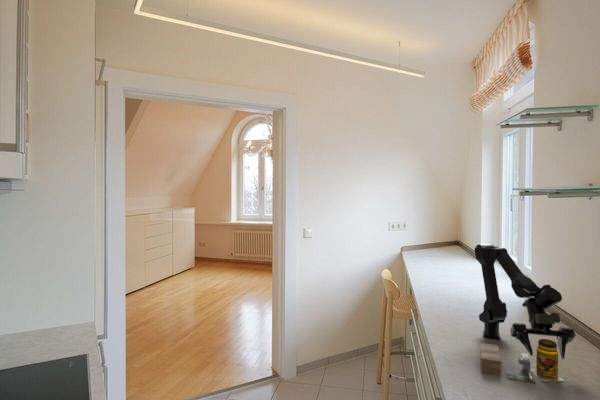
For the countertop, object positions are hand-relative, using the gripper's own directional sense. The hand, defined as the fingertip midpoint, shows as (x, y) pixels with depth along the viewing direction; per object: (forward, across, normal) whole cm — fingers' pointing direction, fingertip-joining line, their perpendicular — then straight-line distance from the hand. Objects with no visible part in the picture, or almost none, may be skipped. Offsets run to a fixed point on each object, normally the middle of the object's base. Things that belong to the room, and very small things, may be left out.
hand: (547, 356), depth 126 cm
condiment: (+4, 0, +6) cm, 7 cm away
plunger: (+4, -7, +4) cm, 9 cm away
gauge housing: (+3, -12, +7) cm, 14 cm away
